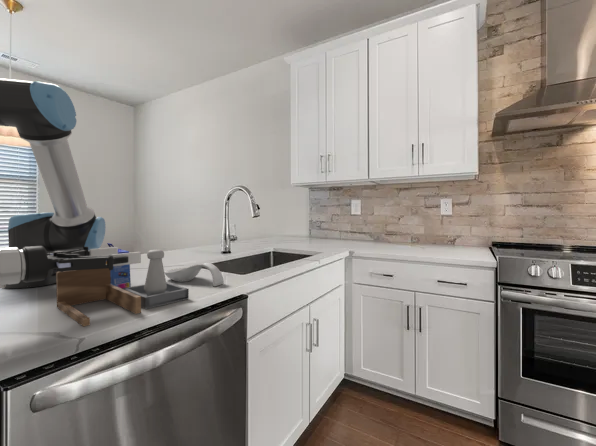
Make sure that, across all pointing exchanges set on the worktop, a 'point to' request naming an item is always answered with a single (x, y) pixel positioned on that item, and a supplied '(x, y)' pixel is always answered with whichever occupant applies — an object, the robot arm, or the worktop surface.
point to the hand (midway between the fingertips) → (128, 254)
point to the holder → (91, 292)
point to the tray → (160, 295)
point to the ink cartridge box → (120, 273)
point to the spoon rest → (195, 273)
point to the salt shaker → (155, 274)
